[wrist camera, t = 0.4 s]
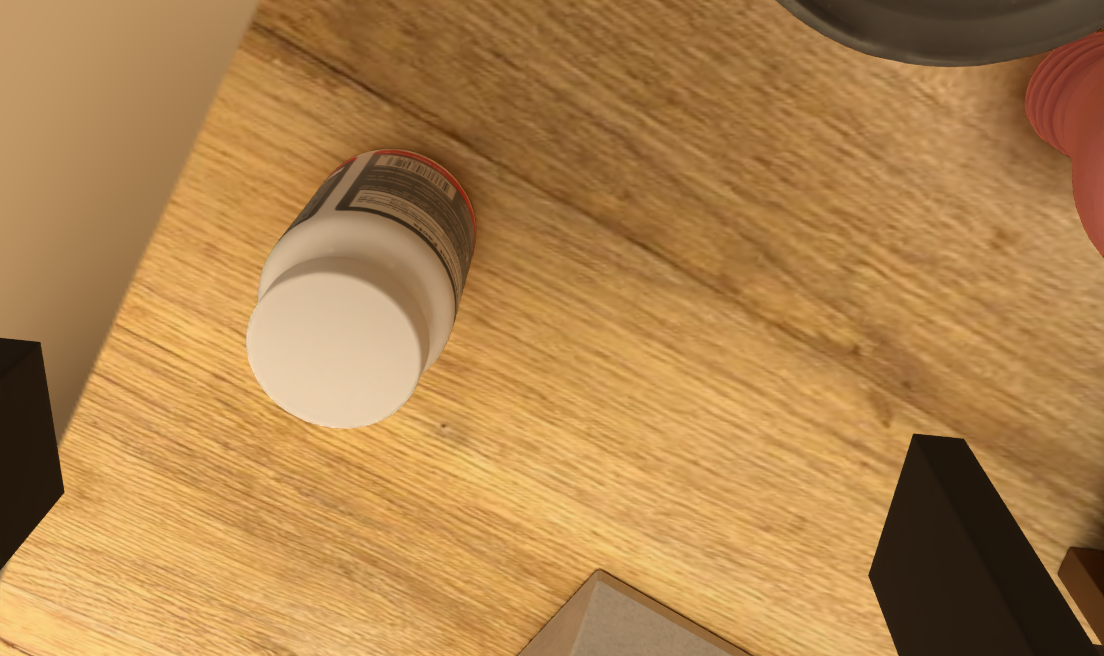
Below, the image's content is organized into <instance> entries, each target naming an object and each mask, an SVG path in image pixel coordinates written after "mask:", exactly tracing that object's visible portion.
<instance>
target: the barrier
mask: <svg viewBox="0 0 1104 656" xmlns="http://www.w3.org/2000/svg"><path fill="white" fill-rule="evenodd" d="M518 656H751V655H749V654H747V653H745V652H743V651H742V650H740V649H738V648H736V647H735V646H733V645H731V644H729V643H728V642H726V641H724V640H722V639H721V638H719V637H717V636H715V635H714V634H712V633H710V632H708V631H707V630H705V629H703V628H701V627H700V626H698V625H696V624H694V623H692V622H691V621H689V620H687V619H685V618H684V617H682V616H680V615H678V614H677V613H675V612H673V611H671V610H670V609H668V608H666V607H664V606H663V605H661V604H659V603H657V602H656V601H654V600H652V599H650V598H649V597H647V596H645V595H643V594H641V593H640V592H638V591H636V590H634V589H633V588H631V587H629V586H627V585H626V584H624V583H622V582H620V581H619V580H617V579H615V578H613V577H612V576H610V575H608V574H606V573H605V572H603V571H601V570H600V571H596V572H595V573H594V574H593V575H592V576H591V577H590V578H589V580H588V581H587V582H586V583H585V584H584V585H583V586H582V587H581V588H580V589H579V590H578V591H577V592H576V594H575V595H574V596H573V597H572V598H571V599H570V600H569V601H568V602H567V603H566V604H565V605H564V606H563V608H562V609H561V610H560V611H559V612H558V613H557V614H556V615H555V616H554V617H553V618H552V619H551V620H550V622H549V623H548V624H547V625H546V626H545V627H544V628H543V629H542V630H541V631H540V632H539V633H538V634H537V636H536V637H535V638H534V639H533V640H532V641H531V642H530V643H529V644H528V645H527V646H526V647H525V648H524V650H523V651H522V652H521V653H520V654H519V655H518Z"/></svg>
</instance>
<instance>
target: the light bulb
mask: <svg viewBox="0 0 1104 656" xmlns="http://www.w3.org/2000/svg"><path fill="white" fill-rule="evenodd" d="M1025 111H1026V115H1027V118H1028V120H1029V122H1030V123H1031V125H1032V127H1033V128H1034V130H1035V131H1036V133H1037V134H1038V136H1039V137H1041V138H1042V139H1043V140H1044V141H1046V142H1047V143H1049V144H1050V145H1052V146H1053V147H1054V148H1056V149H1057V150H1058V151H1060V152H1061V153H1063V154H1065V155H1067V156H1068V157H1070V158H1072V184H1073V195H1074V200H1075V204H1076V208H1077V211H1078V214H1079V216H1080V219H1081V222H1082V224H1083V227H1084V229H1085V231H1086V233H1087V235H1088V237H1089V239H1090V240H1091V242H1092V243H1093V244H1094V246H1095V247H1096V249H1097V250H1098V251H1099V252H1100V254H1101V255H1102V256H1103V258H1104V32H1096V33H1091V34H1090V35H1088V36H1086V37H1084V38H1082V39H1079V40H1077V41H1074V42H1071V43H1068V44H1066V45H1063V46H1060V47H1058V48H1056V49H1055V50H1054V51H1052V52H1051V53H1050V54H1049V55H1048V56H1047V57H1046V58H1044V59H1043V61H1042V62H1041V63H1040V64H1039V66H1038V67H1037V68H1036V70H1035V72H1034V73H1033V75H1032V77H1031V79H1030V81H1029V83H1028V87H1027V91H1026V96H1025Z"/></svg>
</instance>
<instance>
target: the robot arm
mask: <svg viewBox="0 0 1104 656" xmlns="http://www.w3.org/2000/svg"><path fill="white" fill-rule="evenodd" d="M63 494H64V486H63V480H62V474H61V468H60V461H59V455H58V449H57V443H56V437H55V431H54V424H53V418H52V411H51V405H50V399H49V393H48V387H47V381H46V374H45V368H44V361H43V355H42V349H41V343H40V342H34V341H25V340H15V339H6V338H0V570H1V569H2V568H3V566H4V565H5V564H6V563H7V561H8V560H9V559H10V558H11V557H12V555H13V554H14V553H15V552H16V551H17V549H18V548H19V547H20V546H21V544H22V543H23V542H24V541H25V540H26V538H27V537H28V536H29V535H30V534H31V532H32V531H33V530H34V529H35V528H36V526H37V525H38V524H39V523H40V521H41V520H42V519H43V518H44V517H45V515H46V514H47V513H48V512H49V511H50V509H51V508H52V507H53V506H54V504H55V503H56V502H57V501H58V500H59V498H60V497H61V496H62V495H63ZM868 576H869V578H870V581H871V584H872V586H873V589H874V592H875V594H876V597H877V600H878V602H879V605H880V608H881V610H882V613H883V615H884V618H885V621H886V623H887V626H888V629H889V631H890V634H891V637H892V639H893V642H894V645H895V647H896V650H897V652H898V655H899V656H1104V645H1096V644H1092V642H1091V640H1090V639H1089V637H1088V636H1087V634H1086V632H1085V631H1084V629H1083V628H1082V626H1081V624H1080V623H1079V621H1078V620H1077V618H1076V616H1075V615H1074V613H1073V612H1072V610H1071V608H1070V607H1069V605H1068V604H1067V602H1066V601H1065V599H1064V597H1063V596H1062V594H1061V593H1060V591H1059V589H1058V588H1057V586H1056V585H1055V583H1054V581H1053V580H1052V578H1051V577H1050V575H1049V573H1048V572H1047V570H1046V569H1045V567H1044V566H1043V564H1042V562H1041V561H1040V559H1039V558H1038V556H1037V554H1036V553H1035V551H1034V550H1033V548H1032V546H1031V545H1030V543H1029V542H1028V540H1027V538H1026V537H1025V535H1024V534H1023V532H1022V530H1021V529H1020V527H1019V526H1018V524H1017V523H1016V521H1015V519H1014V518H1013V516H1012V515H1011V513H1010V511H1009V510H1008V508H1007V507H1006V505H1005V503H1004V502H1003V500H1002V499H1001V497H1000V495H999V494H998V492H997V491H996V489H995V487H994V486H993V484H992V483H991V481H990V480H989V478H988V476H987V475H986V473H985V472H984V470H983V468H982V467H981V465H980V464H979V462H978V460H977V459H976V457H975V456H974V454H973V452H972V451H971V449H970V448H969V446H968V445H967V443H966V441H965V440H964V439H961V438H952V437H942V436H933V435H923V434H913V436H912V439H911V443H910V446H909V449H908V452H907V455H906V458H905V462H904V465H903V468H902V471H901V474H900V477H899V480H898V484H897V487H896V490H895V493H894V496H893V499H892V503H891V506H890V509H889V512H888V515H887V518H886V521H885V525H884V528H883V531H882V534H881V537H880V540H879V544H878V547H877V550H876V553H875V556H874V559H873V563H872V566H871V569H870V572H869V575H868Z"/></svg>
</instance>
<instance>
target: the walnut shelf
mask: <svg viewBox="0 0 1104 656" xmlns="http://www.w3.org/2000/svg"><path fill="white" fill-rule="evenodd" d="M1058 576H1059V578H1060V579H1061V581H1062V582H1063V584H1064V586H1065V587H1066V589H1067V590H1068V592H1069V593H1070V595H1071V597H1072V598H1073V600H1074V601H1075V603H1076V604H1077V606H1078V608H1079V609H1080V611H1081V612H1082V614H1083V615H1084V617H1085V619H1086V620H1087V622H1088V623H1089V625H1090V626H1091V628H1092V630H1093V631H1094V633H1095V634H1096V636H1097V637H1098V639H1099V641H1100V642H1101V644H1102V645H1104V551H1097V550H1089V549H1081V548H1072V547H1071V548H1070V549H1069V551H1068V553H1067V556H1066V558H1065V560H1064V562H1063V564H1062V566H1061V569H1060V571H1059V573H1058Z"/></svg>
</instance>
